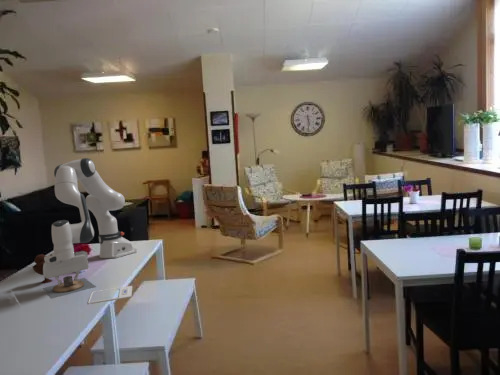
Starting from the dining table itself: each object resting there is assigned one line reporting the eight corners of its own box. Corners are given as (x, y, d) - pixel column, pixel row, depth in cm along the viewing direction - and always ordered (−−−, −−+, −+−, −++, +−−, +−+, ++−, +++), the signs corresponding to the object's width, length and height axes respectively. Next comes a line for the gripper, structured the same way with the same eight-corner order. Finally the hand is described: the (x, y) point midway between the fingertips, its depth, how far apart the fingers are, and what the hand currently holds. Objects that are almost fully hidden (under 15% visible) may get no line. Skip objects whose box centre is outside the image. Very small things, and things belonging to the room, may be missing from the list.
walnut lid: (79, 280, 220) (78, 271, 219) (88, 286, 209) (86, 276, 208) (50, 287, 212) (48, 277, 211) (57, 294, 200) (55, 284, 200)
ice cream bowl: (49, 285, 217) (45, 256, 215) (30, 286, 219) (26, 257, 217) (63, 278, 227) (59, 250, 225) (44, 279, 229) (40, 251, 227)
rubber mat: (84, 278, 224) (84, 277, 224) (96, 287, 208) (96, 286, 208) (42, 289, 213) (42, 288, 212) (51, 299, 196) (51, 298, 196)
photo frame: (131, 295, 191) (87, 302, 187) (131, 298, 191) (88, 304, 187) (132, 285, 205) (92, 291, 201) (132, 287, 205) (92, 293, 201)
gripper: (84, 248, 217) (88, 275, 218) (40, 258, 205) (44, 286, 207) (88, 250, 212) (92, 278, 213) (43, 260, 200) (47, 289, 202)
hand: (68, 282), depth 210 cm, fingers open, 6 cm apart
